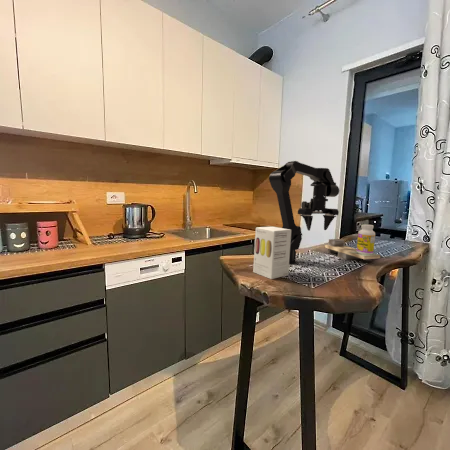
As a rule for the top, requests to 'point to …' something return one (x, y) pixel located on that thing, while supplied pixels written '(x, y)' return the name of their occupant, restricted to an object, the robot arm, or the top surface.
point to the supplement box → (272, 251)
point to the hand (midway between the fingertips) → (317, 230)
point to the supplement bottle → (366, 240)
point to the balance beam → (346, 251)
